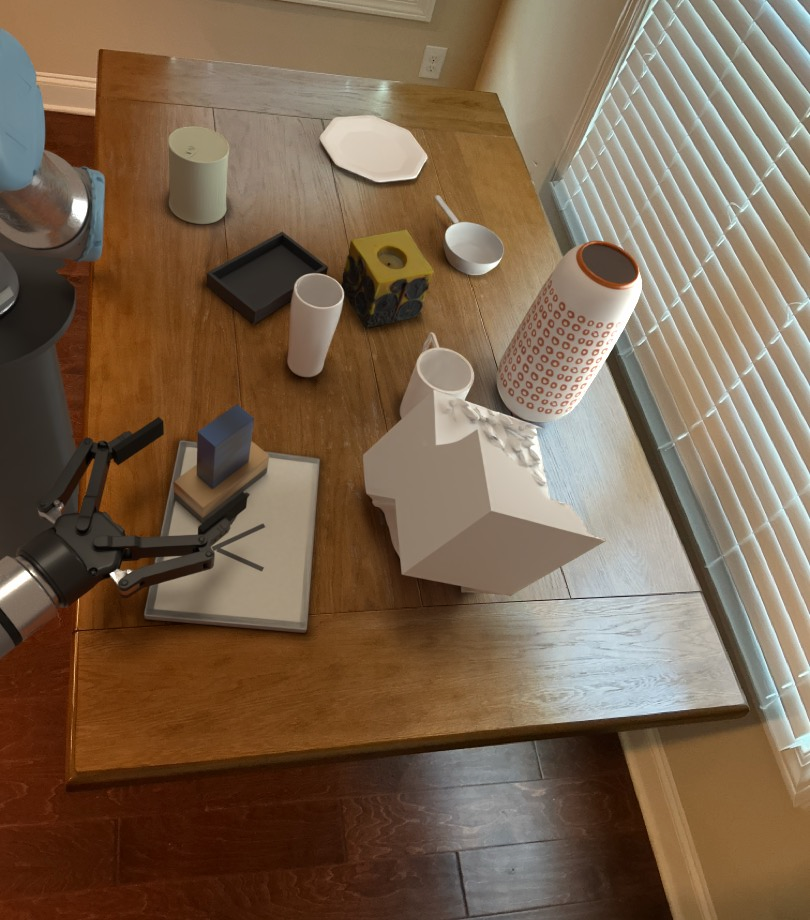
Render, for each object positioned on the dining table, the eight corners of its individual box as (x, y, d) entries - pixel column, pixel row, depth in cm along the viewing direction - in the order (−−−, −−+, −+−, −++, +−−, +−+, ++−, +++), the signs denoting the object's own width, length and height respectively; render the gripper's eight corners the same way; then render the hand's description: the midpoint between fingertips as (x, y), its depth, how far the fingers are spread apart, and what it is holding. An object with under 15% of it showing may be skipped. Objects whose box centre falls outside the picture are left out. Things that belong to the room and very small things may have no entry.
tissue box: (349, 460, 100) (463, 348, 83) (446, 486, 108) (567, 390, 91) (357, 604, 89) (490, 510, 72) (464, 622, 97) (606, 541, 80)
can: (158, 210, 121) (155, 144, 112) (185, 180, 127) (185, 115, 117) (210, 232, 122) (213, 167, 112) (235, 201, 127) (240, 138, 117)
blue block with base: (202, 524, 91) (204, 465, 81) (173, 498, 92) (172, 437, 82) (266, 473, 97) (276, 412, 87) (239, 449, 99) (246, 386, 88)
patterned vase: (475, 371, 118) (543, 228, 96) (547, 363, 123) (628, 225, 100) (507, 440, 112) (589, 303, 89) (582, 428, 117) (677, 296, 94)
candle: (392, 275, 126) (406, 227, 118) (421, 317, 122) (437, 271, 114) (338, 285, 122) (349, 236, 114) (365, 330, 117) (378, 282, 109)
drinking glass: (289, 386, 108) (302, 311, 96) (276, 351, 111) (287, 274, 99) (333, 379, 110) (352, 306, 98) (319, 345, 113) (335, 270, 101)
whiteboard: (143, 619, 84) (143, 615, 83) (180, 444, 98) (180, 439, 97) (305, 633, 88) (306, 629, 87) (318, 462, 102) (319, 458, 101)
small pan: (461, 285, 129) (468, 268, 126) (406, 217, 136) (412, 200, 133) (508, 272, 134) (516, 255, 131) (454, 207, 141) (460, 190, 138)
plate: (343, 110, 150) (344, 103, 149) (434, 148, 150) (436, 141, 149) (305, 159, 138) (306, 152, 137) (404, 200, 138) (406, 193, 137)
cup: (439, 372, 116) (457, 327, 108) (459, 435, 110) (481, 392, 102) (388, 373, 113) (404, 327, 105) (406, 438, 107) (424, 394, 99)
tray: (253, 324, 113) (255, 311, 111) (206, 285, 115) (206, 272, 113) (326, 278, 122) (328, 266, 120) (280, 243, 124) (282, 231, 122)
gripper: (-35, 519, 79) (130, 415, 91) (125, 681, 74) (277, 547, 86) (-52, 482, 73) (126, 375, 85) (120, 654, 68) (284, 515, 80)
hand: (202, 462), depth 86 cm, fingers open, 13 cm apart
